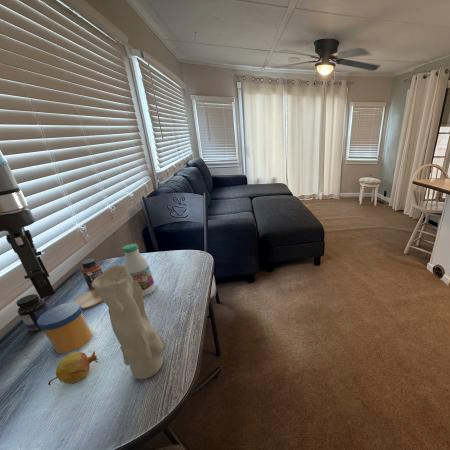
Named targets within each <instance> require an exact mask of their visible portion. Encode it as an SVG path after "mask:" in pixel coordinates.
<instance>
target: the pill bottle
mask: <svg viewBox="0 0 450 450" xmlns="http://www.w3.org/2000/svg"><path fill="white" fill-rule="evenodd" d="M15 304H16V306H17V307H18V309H17V314H18V316H19V317H20V319H21V320H22V322H23V323H24V325H25V326H26V328H27V330H28V331H29V332H31V333H35V332H39V331H42V329H40V328H39V326H38V323H37V320H38V318H39V317H40V316H41V315H42V314H44V313H45V312H47V311H48V310H50V308H49V307H48V304H47V302H46V301H45V300H44V299H41V298H40V296H39V295H38V293H32V294H28V295H25V296H22V297H21V298H18V300H17V301H16V302H15Z"/></svg>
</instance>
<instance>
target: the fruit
mask: <svg viewBox="0 0 450 450" xmlns="http://www.w3.org/2000/svg"><path fill="white" fill-rule="evenodd" d="M97 357H98V354H96V352H95V351H93V352H92V353H91V355H90V356H87V354H86V352H83V351H76V352H72V353H70V354H67V355H66V356H64V357H63V358H61V360H60V361H59V362H57V366H56V369H55V377H54V378H52V379H50V380H49V381H48V383H47V385H48V386H51V383H52V382H53V381H54V380H57V379H58V380H59V381H60V382H62V383H65V384H74V383H77V382H80V381H81V380H83V379H85V378H86V377H87V375H88V374H89V372H90V364H91V363H92V362H95V363H98V360H99V359H98V358H97Z"/></svg>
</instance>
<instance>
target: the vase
mask: <svg viewBox="0 0 450 450" xmlns="http://www.w3.org/2000/svg"><path fill="white" fill-rule="evenodd" d="M92 287H93V288H92V289H93V290H94V289H95V290H96V291H97V293H98V294H99V296H100V297H101V299H102V300H103V302H104V303H105V305H106V306H107V307H108V314H109V320H110V325H111V328H112V331H113V333H114V335H115V337H116V339H117V341H118V343H119V345H120V347H119V348H120V351H121V353H122V358H123V363H124V365H125V366H129V367H130V371H131V373H132V375H133V377H134V378H135V379H137V380H146V379H149V378H151V377H153V376H155V375H156V374H157V373H158V372H159V371H160V370H161V369H162V367H163V363H164V358H163V352H164V351H165V350H166V348H167V344H166V342H165V340H164V339H163V337H162V336H161V334H159V332H158V330H156V328H155V326H153V325H152V323H151V321H150V320H149V318H148V315H147V313H146V310H145V300H144V296H143V291H142V288H141V287H140V285H139V283H138V282H137V280H135V281H134V280H133V278H132V276H131V275H129V273H128V269H127V267H126V266H124V264H116V265H112V266H111V267H109V268H107V269H105V270H104V271H103V274H101V275H100V276H98V277H97V278H95V279H94V280H93V282H92Z"/></svg>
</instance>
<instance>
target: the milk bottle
mask: <svg viewBox="0 0 450 450" xmlns="http://www.w3.org/2000/svg"><path fill="white" fill-rule="evenodd" d="M122 252H123V254H124V255H125V258H124V259H125V260H124V263H123V265H124V266H126V267H127V269H128V273H129V275H131V276H132V278H133V280H134V281H135V280H137V282H138V283H139V285H140V287H141V288H142V291H143V297H145V296H148V295H150V294H151V293H153V292H154V291H155V290H156V284H155V280H154V277H153V275H152V270H151V268H150V266H149V262H148V260H147V259H146V258H145V256H143V255H142V254H141V253H140V251H139V246H138V244H137V243H130V244H126V245H125V246H123V247H122Z"/></svg>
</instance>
